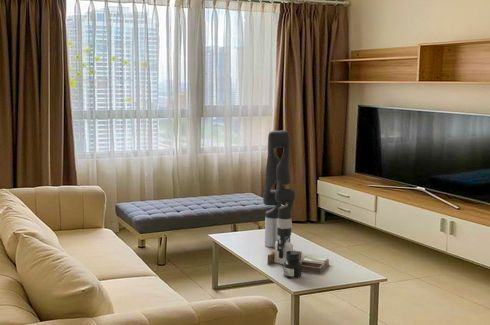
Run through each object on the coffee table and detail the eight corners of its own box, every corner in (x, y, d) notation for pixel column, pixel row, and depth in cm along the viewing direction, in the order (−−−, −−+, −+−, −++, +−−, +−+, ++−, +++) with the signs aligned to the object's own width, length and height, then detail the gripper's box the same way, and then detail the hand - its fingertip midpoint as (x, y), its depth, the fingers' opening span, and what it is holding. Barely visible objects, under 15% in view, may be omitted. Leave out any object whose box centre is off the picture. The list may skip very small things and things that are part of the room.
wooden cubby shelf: (276, 257, 328) (276, 248, 327) (301, 260, 322) (301, 251, 322) (267, 264, 315) (267, 255, 314) (293, 267, 310) (293, 258, 309)
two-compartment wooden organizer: (305, 261, 321) (305, 255, 321) (328, 264, 316) (328, 258, 316) (295, 270, 306) (295, 264, 305) (320, 274, 301) (320, 267, 300)
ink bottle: (280, 273, 300) (280, 250, 298) (295, 271, 304) (296, 249, 302) (289, 279, 291) (289, 256, 290) (305, 277, 295) (305, 254, 293)
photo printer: (293, 264, 316) (294, 241, 314) (289, 266, 312) (290, 243, 311) (277, 260, 322) (277, 238, 320) (273, 262, 318) (273, 240, 316)
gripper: (282, 222, 322) (281, 251, 324) (273, 228, 309) (272, 258, 311) (295, 224, 319) (294, 253, 321) (286, 230, 306) (286, 260, 308)
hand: (283, 255), depth 316 cm, fingers open, 8 cm apart
